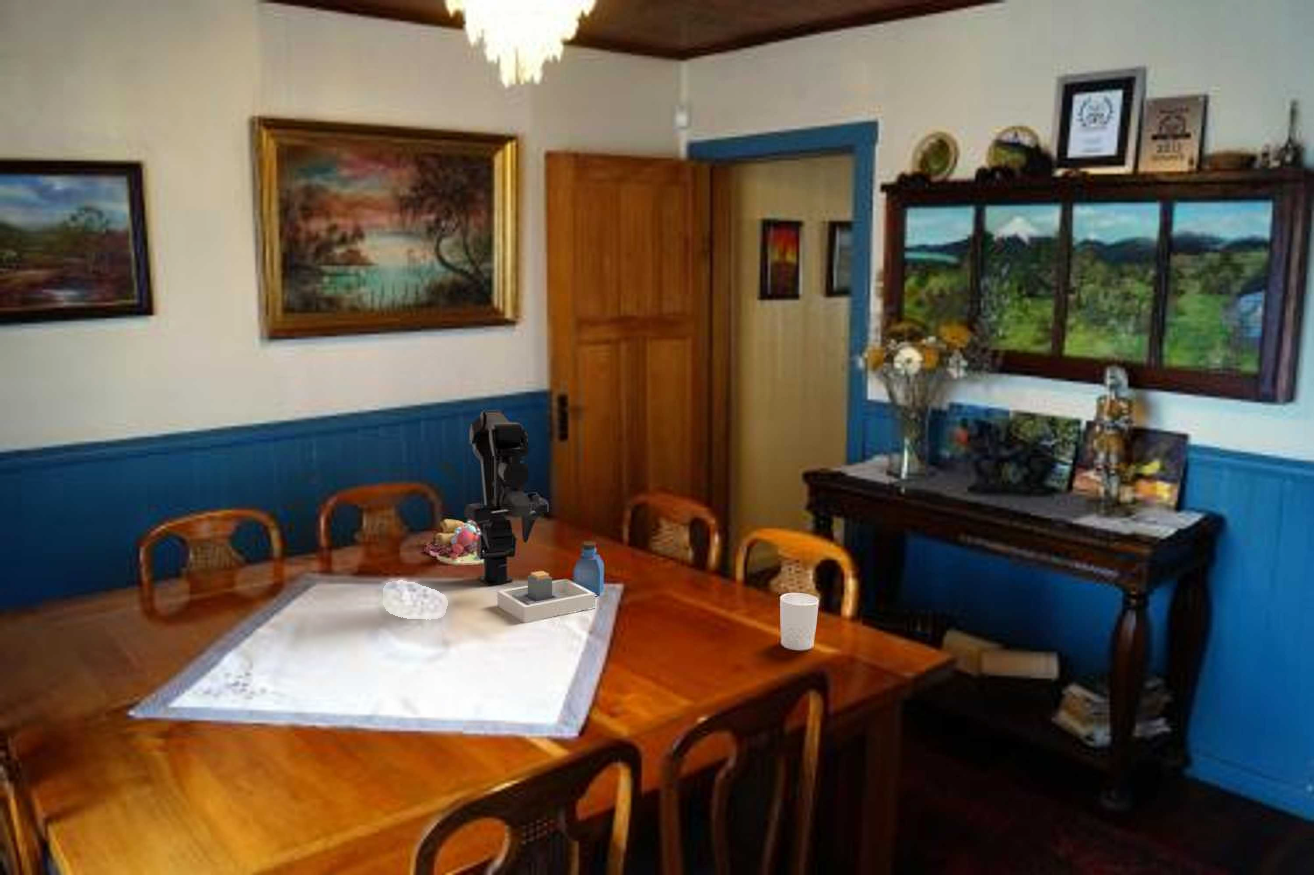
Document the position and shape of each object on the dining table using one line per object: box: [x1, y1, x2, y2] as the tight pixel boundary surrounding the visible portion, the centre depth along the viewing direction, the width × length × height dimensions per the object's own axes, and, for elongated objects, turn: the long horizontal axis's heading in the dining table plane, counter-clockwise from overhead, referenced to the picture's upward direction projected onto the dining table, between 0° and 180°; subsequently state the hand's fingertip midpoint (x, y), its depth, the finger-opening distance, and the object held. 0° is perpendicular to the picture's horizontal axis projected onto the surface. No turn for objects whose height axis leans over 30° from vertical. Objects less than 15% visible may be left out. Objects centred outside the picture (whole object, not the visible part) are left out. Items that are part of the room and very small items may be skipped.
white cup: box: [779, 592, 820, 651], centre depth 218 cm, size 8×8×10 cm
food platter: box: [423, 518, 484, 566], centre depth 281 cm, size 25×24×9 cm
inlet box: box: [496, 578, 596, 624], centre depth 238 cm, size 13×18×4 cm
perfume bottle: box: [573, 540, 605, 597], centre depth 249 cm, size 6×6×12 cm
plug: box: [527, 570, 553, 602], centre depth 236 cm, size 4×4×8 cm
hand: (507, 544), depth 241 cm, fingers open, 9 cm apart
